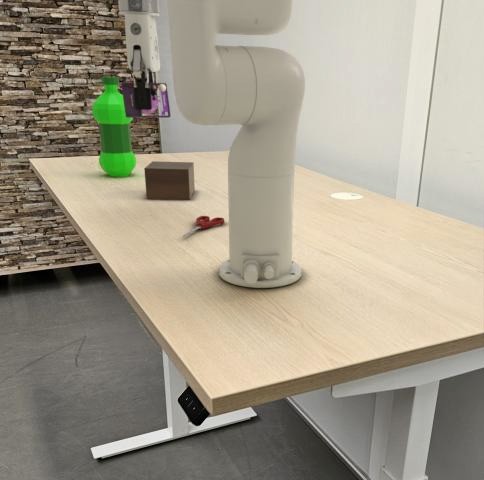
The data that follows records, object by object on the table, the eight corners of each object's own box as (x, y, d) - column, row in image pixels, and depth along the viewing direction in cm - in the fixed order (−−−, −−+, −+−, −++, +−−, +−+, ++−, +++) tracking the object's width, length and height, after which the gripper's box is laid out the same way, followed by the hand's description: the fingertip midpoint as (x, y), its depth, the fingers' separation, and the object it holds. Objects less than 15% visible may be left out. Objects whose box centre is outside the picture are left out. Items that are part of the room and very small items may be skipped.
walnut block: (189, 199, 134) (188, 169, 131) (146, 198, 134) (144, 168, 131) (194, 191, 143) (193, 162, 140) (154, 190, 143) (152, 161, 140)
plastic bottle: (141, 177, 157) (133, 78, 147) (100, 179, 153) (89, 77, 143) (136, 171, 165) (128, 76, 155) (97, 172, 162) (87, 76, 151)
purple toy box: (121, 81, 114) (167, 82, 117) (118, 89, 118) (162, 90, 122) (126, 116, 114) (171, 116, 118) (123, 123, 119) (166, 122, 123)
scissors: (226, 222, 116) (225, 217, 116) (197, 240, 104) (197, 234, 104) (201, 219, 117) (201, 214, 117) (170, 237, 105) (169, 231, 105)
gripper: (151, 4, 103) (157, 112, 111) (165, 11, 118) (170, 106, 126) (108, 2, 103) (118, 111, 110) (128, 10, 118) (135, 105, 126)
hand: (146, 107), depth 118 cm, fingers closed on purple toy box, 4 cm apart
